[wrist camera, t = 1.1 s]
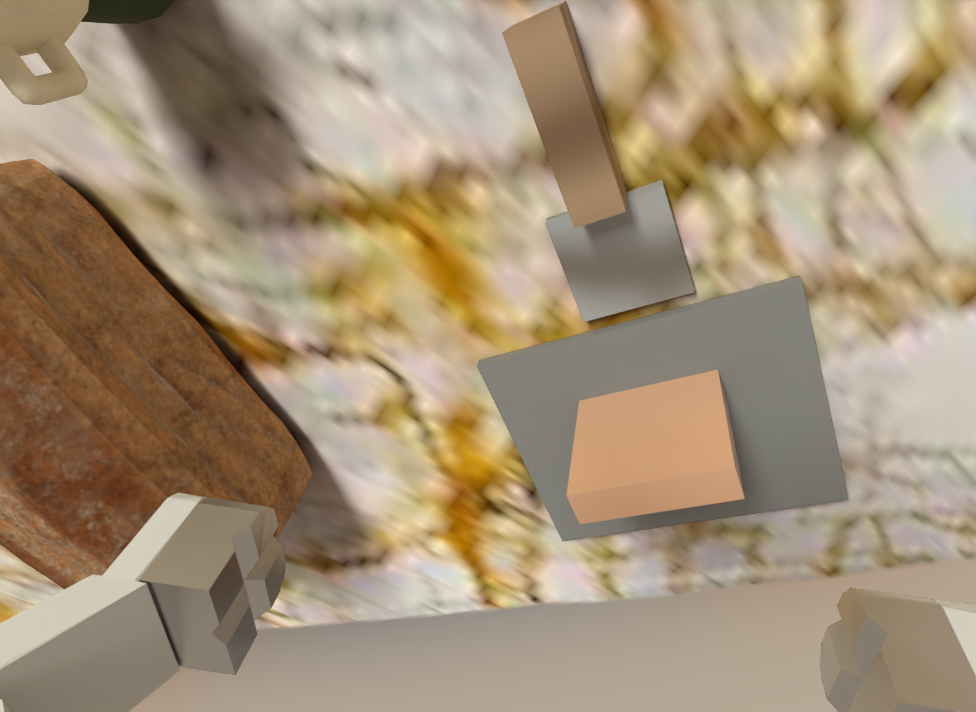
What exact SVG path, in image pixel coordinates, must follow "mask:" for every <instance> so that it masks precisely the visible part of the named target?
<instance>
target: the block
mask: <svg viewBox="0 0 976 712" xmlns="http://www.w3.org/2000/svg"><path fill="white" fill-rule="evenodd" d="M566 496H567V498H568V500H569V502H570V504H571V507H572V509H573V511H574V513H575V515H576V517H577V519H578V522H579V524H585V523H592V522H598V521H605V520H611V519H618V518H624V517H631V516H637V515H644V514H650V513H657V512H663V511H670V510H676V509H683V508H689V507H696V506H702V505H709V504H715V503H722V502H728V501H735V500H741V499H745V497H744V492H743V487H742V481H741V476H740V470H739V465H738V459H737V454H736V448H735V443H734V438H733V432H732V427H731V421H730V416H729V410H728V405H727V399H726V396H725V392H724V389H723V385H722V382H721V379H720V375H719V372H718V370H714V371H709V372H705V373H700V374H696V375H692V376H687V377H683V378H678V379H674V380H669V381H665V382H660V383H656V384H652V385H647V386H643V387H638V388H634V389H629V390H625V391H620V392H616V393H612V394H607V395H603V396H598V397H594V398H589V399H585V400H580V401H579V405H578V413H577V420H576V428H575V435H574V443H573V450H572V458H571V465H570V473H569V480H568V488H567V495H566Z"/></svg>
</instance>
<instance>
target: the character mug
mask: <svg viewBox="0 0 976 712" xmlns="http://www.w3.org/2000/svg"><path fill="white" fill-rule="evenodd" d="M173 1H174V0H0V78H1V80H2V81H3V82H4V84H5V85H6V86H7V88H8V89H9V90H10V91H11V93H12V94H13V95H14V96H15V97H16V98H18V99H19V100H20V101H21V102H22V103H23V104H32V105H43V104H46V103H50V102H53V101H57V100H60V99H64V98H67V97H71V96H74V95H78V94H81V93H82V92H83V91H84V90H85V89H86V88H87V82H88V81H87V78H86V76H85V74H84V71H83V70H82V68H81V67H80V66H79V64H78V63H77V61H76V60H75V59H74V57H73V56H72V54H71V53H70V52H69V50H68V49H67V47H66V46H65V45H64V43H65V42H66V41H67V40H68V38H69V37H70V36H71V35H72V33H73V32H74V30H75V29H76V27H77V26H78V25H79V23H80V22H97V23H111V24H123V23H140V22H143V21H146V20H149V19H152V18H156V17H159V16H161V15H162V13H163V12H164V11H165V10H166V9H167V8H168V7H169V5H170V4H171V3H172V2H173ZM33 53H39V55H40V56H41V57H42V59H43V60H44V61H45V63H46V64H47V66H48V67H49V68H50V70H51V71H52V72H53V73H49V74H44V75H40V76H35V75H34V74H33V73H32V72H31V71H30V70H29V68H28V67H27V66H26V64H25V63H24V62H23V60H22V59H21V58H20V56H23V55H28V54H33Z"/></svg>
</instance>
